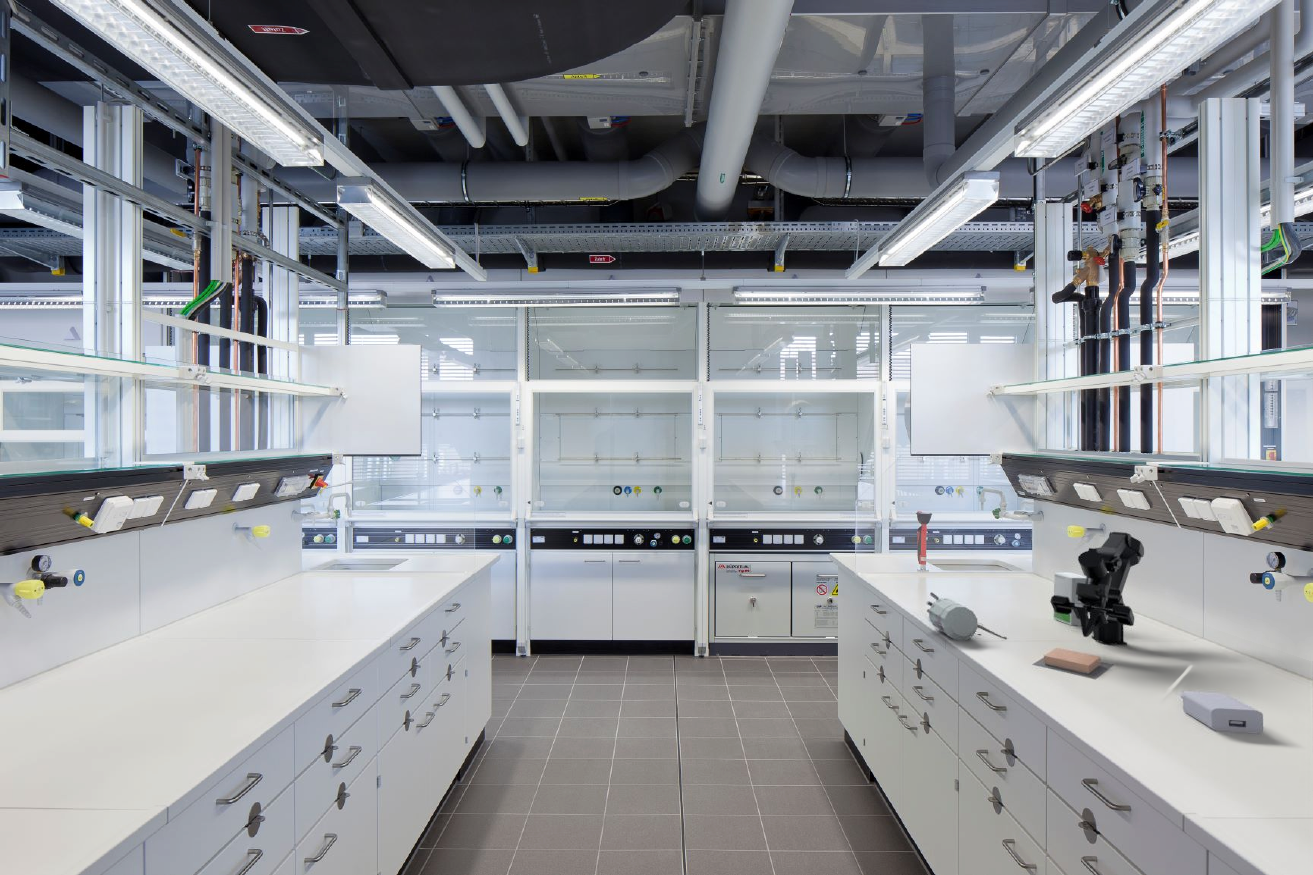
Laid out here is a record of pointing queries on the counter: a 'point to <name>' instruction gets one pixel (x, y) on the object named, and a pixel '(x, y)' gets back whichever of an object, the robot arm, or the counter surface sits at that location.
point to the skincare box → (1067, 594)
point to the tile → (1072, 660)
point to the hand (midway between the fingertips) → (1084, 635)
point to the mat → (1092, 674)
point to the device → (952, 618)
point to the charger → (1222, 712)
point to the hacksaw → (990, 631)
